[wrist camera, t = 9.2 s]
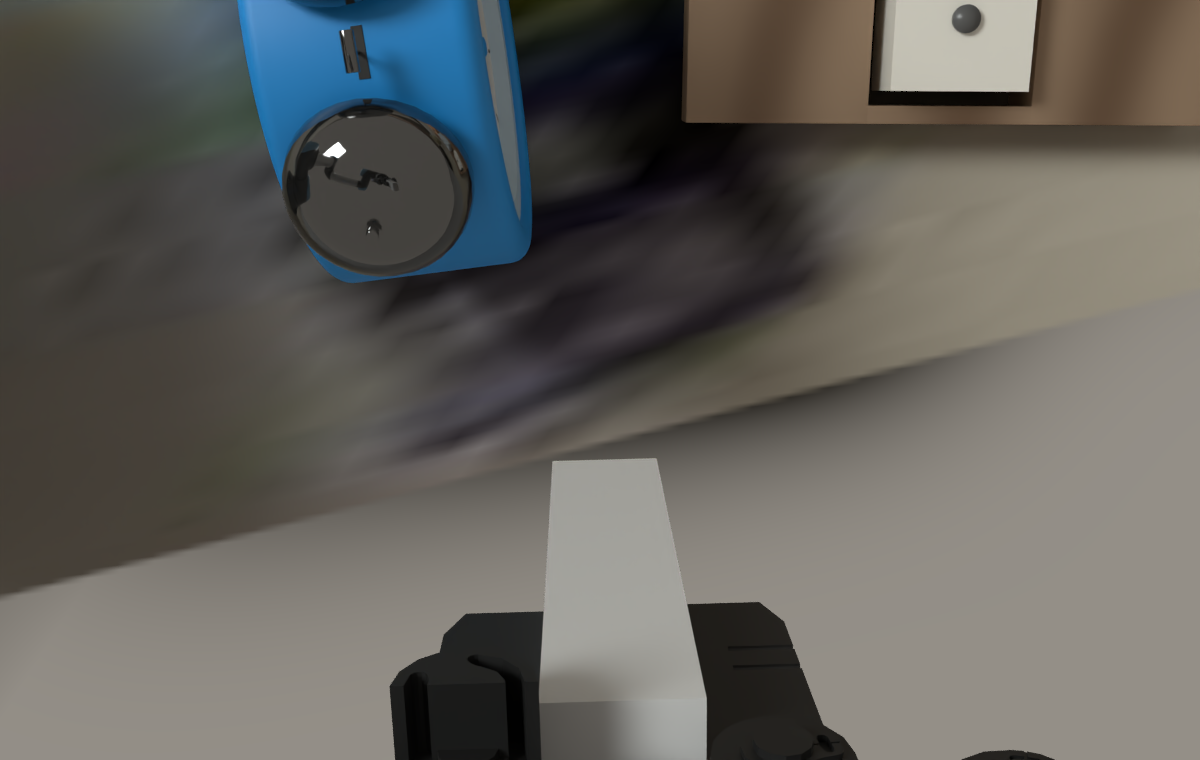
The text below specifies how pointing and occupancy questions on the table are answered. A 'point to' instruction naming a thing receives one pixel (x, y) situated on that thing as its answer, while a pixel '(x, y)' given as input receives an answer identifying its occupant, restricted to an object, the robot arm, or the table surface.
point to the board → (841, 89)
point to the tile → (953, 45)
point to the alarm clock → (394, 131)
